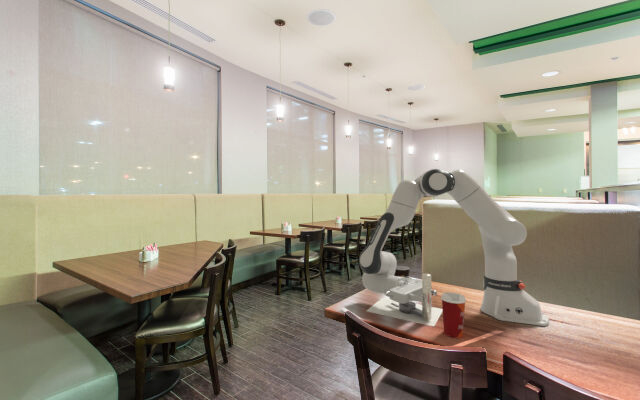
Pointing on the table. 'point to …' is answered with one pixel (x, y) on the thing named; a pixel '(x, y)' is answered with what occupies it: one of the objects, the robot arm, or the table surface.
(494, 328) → the table surface
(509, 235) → the robot arm
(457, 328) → the paper cup
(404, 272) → the coffee mug
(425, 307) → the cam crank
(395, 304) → the board
